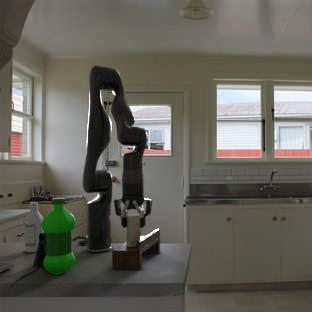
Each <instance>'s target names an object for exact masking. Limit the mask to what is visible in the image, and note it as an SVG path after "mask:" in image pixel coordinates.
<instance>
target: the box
mask: <svg viewBox="0 0 312 312" xmlns="http://www.w3.org/2000/svg"><path fill="white" fill-rule="evenodd" d="M126 217H127V227H126V242H127V245H128V247H136V242H138V241H139V240H141V236H142V235H141V228H140V218H141V217H140V214H139V213H131V214H127V215H126Z"/></svg>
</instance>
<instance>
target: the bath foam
mask: <svg viewBox="0 0 312 312" xmlns="http://www.w3.org/2000/svg"><path fill="white" fill-rule="evenodd" d="M43 218H44V217H43V216H42V214H41V213H40V211H39V202H37V201H32V202H30V203H29V213H28V214H27V215H26V217H25V220H24V252H25V253H36V252H37V248H38V244H39V234H40V233H44V231H43V230H42V221H43Z"/></svg>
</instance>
